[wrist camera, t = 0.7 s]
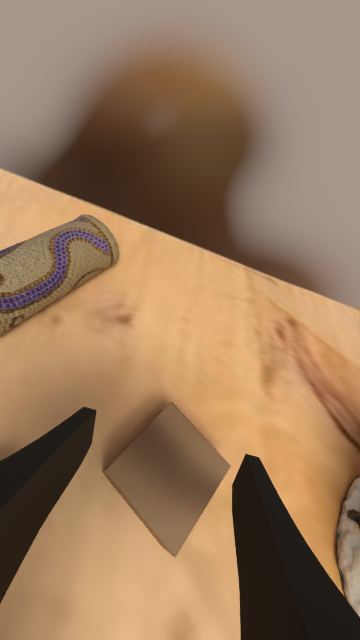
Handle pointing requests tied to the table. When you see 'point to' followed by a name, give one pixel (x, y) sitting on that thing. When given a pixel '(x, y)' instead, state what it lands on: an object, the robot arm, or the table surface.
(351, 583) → the santa figurine
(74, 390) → the table surface
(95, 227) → the decorative bottle
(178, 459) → the walnut block
